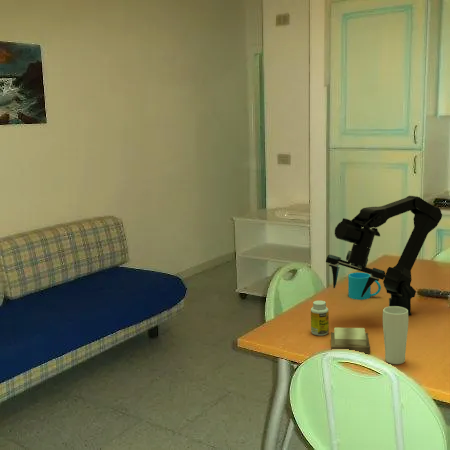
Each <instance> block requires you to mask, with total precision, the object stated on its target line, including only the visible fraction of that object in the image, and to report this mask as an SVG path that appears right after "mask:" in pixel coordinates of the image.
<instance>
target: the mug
mask: <svg viewBox="0 0 450 450" xmlns="http://www.w3.org/2000/svg"><path fill="white" fill-rule="evenodd" d="M369 277H371V274H368V273H365V272H362V271H357V272H351V273H349V274H348V277H347V278H348V279H347V281H348V284H347V285H348V286H347V287H348V289H347V290H348V292H347V293H348V294H347V295H348V297H349V298H350V299H351V300H352V299H353V300H358V301H359V300H360V301H362V300H363V301H364V300H369V299H370V298H371V297H375V296H377V295H378V294H379V293H380V292H381V290H382V289H381V288H382V286H381V283H380V282H379V281H376V280H375V281H374V282H373V283H375V284H376V285H377V287H378V288H377V291H376V292H374V293H371V292H372V291H371V290H372V288H371V287H372V285H371V286H370V287H369V288H368V290H367V291H366V293H365V294H364V296H363V297H361V295H362V292H363V290H364V287H365V285H366V283H367V281H368V278H369Z"/></svg>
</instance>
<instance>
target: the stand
mask: <svg viewBox="0 0 450 450" xmlns="http://www.w3.org/2000/svg"><path fill="white" fill-rule="evenodd" d="M330 338H331V339H330V342H331V343H330V348H331V349H349V350H355V351H359V352H364V353H368V354H367V355H371V346H370V345H371V344H370V338H369V333H368V332H366V329H365V328H364V327H334V331H332V332H330Z"/></svg>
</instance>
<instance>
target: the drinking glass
mask: <svg viewBox="0 0 450 450" xmlns="http://www.w3.org/2000/svg"><path fill="white" fill-rule="evenodd" d="M382 329H383V333H382V334H383V341H384V342H383V344H384V356H385V357H384V358H385V361H386V362H387V363H388V364H391V365H401V364H404V363H405V361H406V351H407V350H406V349H407V339H408V330H409V315H408V310H407V309H406V308H403V307H399V306H389V305H388V306H385V307H384V308H383V310H382Z"/></svg>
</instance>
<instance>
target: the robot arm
mask: <svg viewBox="0 0 450 450" xmlns="http://www.w3.org/2000/svg"><path fill="white" fill-rule="evenodd" d="M408 212H410V213H412V214H413V215H414V216H413V229H412V231H411V234H410V236H409V237H408V240H407V242H406V245H405V246H404V248H403V251H402V253H401V255H400V257H399V260H398V262H397V263H396V265H395V266H394V267H391V266H388V268H387V269H386V271H385V270H383V269H379V268H376V267H372V268H369V267H367V265H368V262H369V256H370V252H371V249H372V246H373V242H374V239H375V237H381V234H380V232H379V230H378V228H379V227H381V226H382V225H384V224H386V223H387V221H388V220H390V219H391V218H394V217H397V216H399V215H401V214H404V213H408ZM442 217H443V213H442V210H441V208H439V207H438V206H435V205H432V204H431V203H429V202H428V201H425V200H424V199H423V198H422V197H420V196H417V195H408V196H406V197H404V198H401V199H398V200H395V201H392V202H390V203H389V202H388V204H384V205H381V206H369V207H368V206H367V207H363V208H361V209H360V211H359V213H358V214H356V216H354V217H353V218H352V219H349V218H344V217H343V218H342V220H341V221H340V222H339V223H338V224H337V225H336V226H335V229H334V236H335V238H336V239H338V240H341V241H344V242H348V243H350V244H352V246H351V250H348V252H347V253H346V257H345V260H343V259H342V257H340V256H336V255H334V254H328V255H327V256H326V260H325V263H328V266H329V267H331V272H332V273H331V274H332V284H333V289H336V286H337V281H338V277H339V271H340V266H342V267H345V268H350V269H353V270H356V271H357V272H361V273H368V274H370V275H371V277H369V278H368V281H367V283H366V285H365V287H364V290H363V292H362V295H361V297H363V296H364V294H365V293H366V291H367V290H368V288H369V287H370V286H371V287H372V285H373V284H374V283H375V282H374V281H375V280H376V281H378V282H379V281H380V280H382V283H383V287H384V289H385V291H386V293H387V294H390V297H389V298H388V307H389V306H399V307H403V308H406V309H407V310H408V316H412V311H411V309H412V307H411V306H412V304H411V303H412V301H411V300H412V298H414V297H415V296H416V293H417V291H416V290H415V288H414V287H413V286H411V283H412V281H413V280H412V268H413V267H414V265H415V263H416V260H417V259H418V256H419V254H420V252H421V250H422V247H423V245H424V243H425V241H426V239H427V236H428V235H429V233H430V232H432V230H434V229H436V228H437V226H438V225H439V223H440V222H441V220H442Z"/></svg>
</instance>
